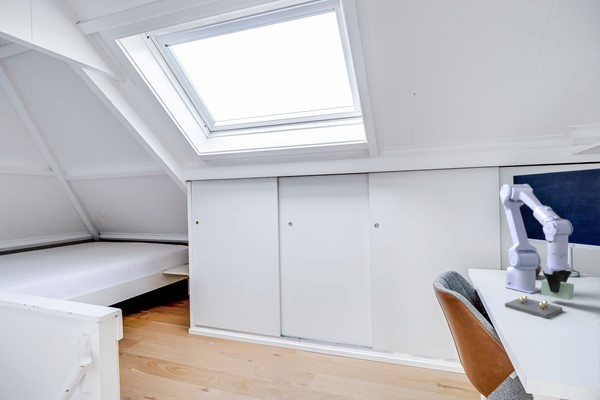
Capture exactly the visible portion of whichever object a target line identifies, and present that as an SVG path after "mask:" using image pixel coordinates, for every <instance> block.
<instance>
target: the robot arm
mask: <svg viewBox="0 0 600 400" xmlns="http://www.w3.org/2000/svg"><path fill="white" fill-rule="evenodd" d="M533 191H534V189H533V188H532V187H531V186H530V185H529V184H528V183H523V184H506V183H504V184H503V185H502V186H501V188H500V191H499V196H500V201H501V204H502V205H503V209H504V212H505V216H506V220H507V224H508V229H509V232H510V236H511V241H512V244H513V245H512V246H511V247H510V248H509V249H508V262H509V264H510V265H509V266H508V267H507V269H506V281H505V283H506V284H505V287H504V288H507V289H511V290H516V291H519V292H523V293H527V294H533V293H535V292H539V291H541V288H537V287H536V282H537V280H536V279H537V277H536V270H535V269H537V267H539V266H541V263H542V257H541V255H540V254H539V252H538V250H537V248H536V247H535V246H534V245H532V244H530V241H529V239H528V234H527V232H526V227H525V224H524V220H523V217H522V213H521V210H520V208H521V206H524V204H525V205H526V206H527V207H529V208H530V209H531V210H532V212H533V214H532V215H533V217H534V218H535V219H536V220H537V221H538V222H539V223H540V224H541V226H543V227H542V231H543V234H544V235H545V240H546V241H547V243H546V245H547V246H546V247H547V249H546V250H547V251H546V255H547V256H546V261H547V262H546V265H545V267H544V270H543V272H542V275H543V276H544V277H545V279H547V281H548V285H549V288H550V291H551V292H554V293H558V292H559V288H560V283H561V282H565V283H568V280H569V278H570V276H571V275H572V270H573V267H570V263H569V237H570V236H571V235H572V233H573V232H574V227H573V225H572V223H571V222H570V220H568V219H563V218H561V217H560V216H559V215H557V213H555V211H554V210H553V209H552V208H551V207H550V206H547V205H543V204H542V203H541V202H540V200H539V199H538V198H537V197H536V195H535V194H534V192H533Z"/></svg>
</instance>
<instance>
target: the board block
mask: <svg viewBox="0 0 600 400" xmlns="http://www.w3.org/2000/svg"><path fill="white" fill-rule="evenodd" d="M574 286H575V284H574V283H570V282H566V283H565V282H561V283H560V288H559V292H558V293H554V292H551V291H550V288H549V285H548V281H547V279H546V278H544V279H542V280H541V286H540V287H541V288H540V291H541V292H540V293H541V295H544V296H549V297H553V298H558V299H561V300H567V301H571V300H572V299H574V295H575V293H574V291H575V290H574V288H575V287H574Z"/></svg>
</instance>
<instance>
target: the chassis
mask: <svg viewBox="0 0 600 400" xmlns="http://www.w3.org/2000/svg"><path fill="white" fill-rule="evenodd" d="M504 306H505V308H508V309H511V310H515V311H519V312H522V313H526V314H528V315H532V316H535V317H539V318H544V319H548V318H550V317H552V316H555V315H557V314H559V313H561V312H563V307H562V306H558V305H554V304H551V303H548V301H547V300H542V301H539V300H534V299H531V298H530V299H529V298H528V296H527V295H523V296H520V297H518V298H517V299H514V300H511V301H507V302H505V303H504Z"/></svg>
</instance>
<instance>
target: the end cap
mask: <svg viewBox="0 0 600 400" xmlns="http://www.w3.org/2000/svg"><path fill="white" fill-rule="evenodd" d="M541 266H542V265H540V266H539V267H537V269H535V270H536V278H537V277H539V275H540V273H541V271H542V267H541Z"/></svg>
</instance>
